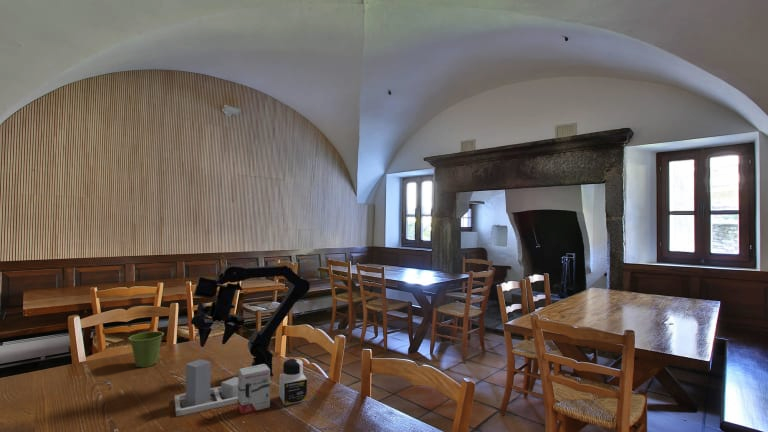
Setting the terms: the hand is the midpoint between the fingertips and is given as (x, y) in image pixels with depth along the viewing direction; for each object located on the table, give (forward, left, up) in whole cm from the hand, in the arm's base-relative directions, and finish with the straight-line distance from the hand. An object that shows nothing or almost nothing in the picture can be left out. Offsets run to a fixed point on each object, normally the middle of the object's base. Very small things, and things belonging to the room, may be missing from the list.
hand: (212, 345), depth 136 cm
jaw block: (+6, +14, -13) cm, 20 cm away
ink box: (-9, +25, -13) cm, 30 cm away
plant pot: (+20, -32, -13) cm, 40 cm away
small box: (-5, +14, -13) cm, 20 cm away
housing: (+1, +14, -13) cm, 19 cm away
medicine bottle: (-21, +25, -13) cm, 35 cm away
